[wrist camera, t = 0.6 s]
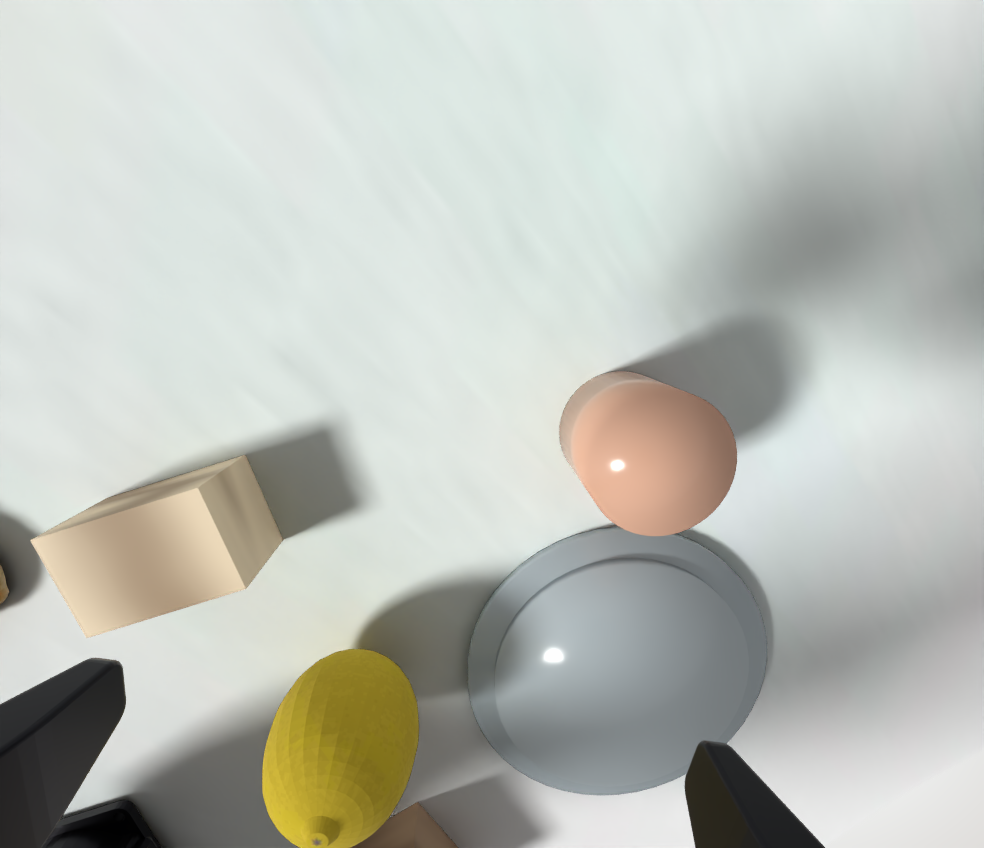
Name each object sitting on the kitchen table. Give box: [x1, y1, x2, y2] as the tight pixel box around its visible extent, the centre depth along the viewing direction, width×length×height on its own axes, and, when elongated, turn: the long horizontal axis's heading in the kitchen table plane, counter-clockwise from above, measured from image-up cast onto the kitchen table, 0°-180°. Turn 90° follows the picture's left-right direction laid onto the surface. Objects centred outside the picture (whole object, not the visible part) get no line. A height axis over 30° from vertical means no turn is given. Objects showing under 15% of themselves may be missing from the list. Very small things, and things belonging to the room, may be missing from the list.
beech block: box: [30, 455, 283, 638], centre depth 20 cm, size 6×4×4 cm, turn 107°
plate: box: [468, 527, 767, 795], centre depth 24 cm, size 14×14×1 cm
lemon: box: [262, 649, 419, 848], centre depth 20 cm, size 6×6×8 cm
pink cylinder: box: [559, 371, 737, 536], centre depth 19 cm, size 5×5×5 cm
